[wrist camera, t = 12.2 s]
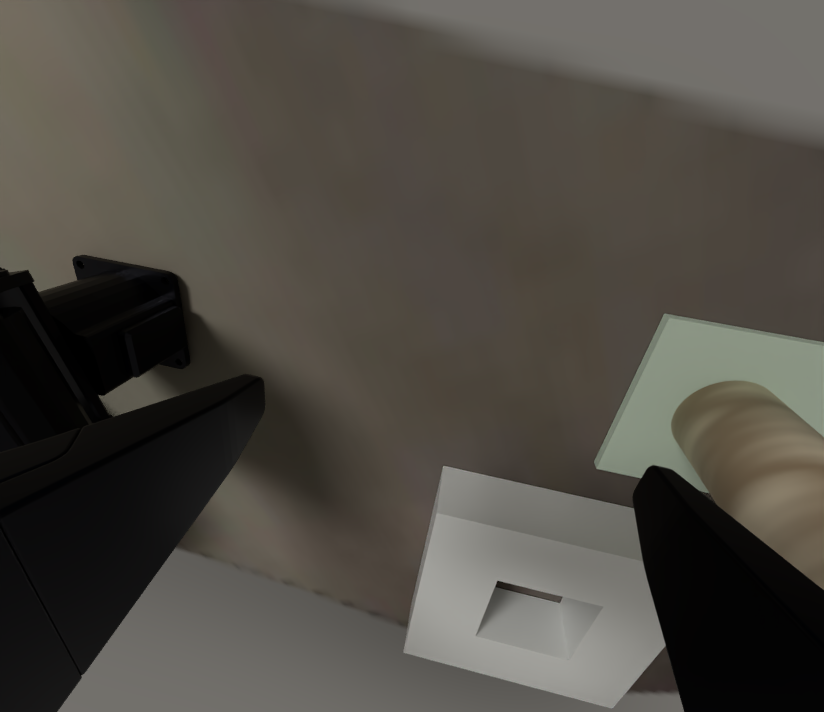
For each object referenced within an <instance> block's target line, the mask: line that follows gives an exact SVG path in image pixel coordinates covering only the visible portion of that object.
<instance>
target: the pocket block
mask: <svg viewBox="0 0 824 712" xmlns="http://www.w3.org/2000/svg"><path fill="white" fill-rule="evenodd" d="M497 581H501V582H505V583H509V584H513V585H517V586H521V587H525V588H529V589H533V590H538V591H542V592H546V593H550V594H554V595H558V596H562V597H563V598H562V600H561V602H560V603H557V602H553V601H549V600H545V599H541V598H537V597H533V596H529V595H525V594H521V593H517V592H513V591H509V590H505V589H501V588H497V587H495V585H496V583H497ZM665 646H666V645H665V641H664V638H663V634H662V631H661V627H660V624H659V620H658V616H657V613H656V609H655V606H654V602H653V599H652V595H651V592H650V588H649V584H648V581H647V577H646V573H645V569H644V565H643V560H642V554H641V548H640V542H639V536H638V530H637V524H636V518H635V512H634V508H630V507H626V506H621V505H617V504H612V503H608V502H603V501H599V500H594V499H590V498H585V497H581V496H577V495H572V494H568V493H563V492H559V491H554V490H550V489H545V488H541V487H536V486H532V485H528V484H523V483H519V482H514V481H510V480H505V479H501V478H496V477H492V476H487V475H483V474H478V473H474V472H470V471H465V470H461V469H456V468H452V467H447V466H443V469H442V474H441V478H440V482H439V486H438V491H437V495H436V499H435V504H434V508H433V512H432V517H431V521H430V525H429V530H428V534H427V538H426V543H425V547H424V551H423V555H422V560H421V564H420V568H419V573H418V577H417V581H416V586H415V590H414V594H413V599H412V603H411V609H410V615H409V621H408V627H407V633H406V639H405V645H404V651H403V653H406V654H410V655H414V656H418V657H421V658H425V659H429V660H432V661H436V662H440V663H444V664H447V665H451V666H455V667H459V668H463V669H466V670H469V671H473V672H477V673H481V674H484V675H488V676H492V677H496V678H499V679H503V680H507V681H510V682H514V683H518V684H522V685H525V686H529V687H533V688H536V689H540V690H544V691H548V692H551V693H555V694H559V695H563V696H566V697H570V698H574V699H577V700H581V701H585V702H589V703H592V704H596V705H600V706H604V707H607V708H611V709H613V707H614V706H615V705H616V704H617V703H618V702H619V700H620V699H621V698H622V697H623V696H624V694H625V693H626V692H627V691H628V690H629V688H630V687H631V686H632V685H633V684H634V683H635V681H636V680H637V679H638V678H639V677H640V675H641V674H642V673H643V672H644V671H645V669H646V668H647V667H648V666H649V665H650V664H651V662H652V661H653V660H654V659H655V658H656V656H657V655H658V654H659V653H660V652H661V650H662V649H663V648H664V647H665Z"/></svg>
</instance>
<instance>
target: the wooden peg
mask: <svg viewBox="0 0 824 712" xmlns="http://www.w3.org/2000/svg"><path fill="white" fill-rule="evenodd" d="M671 431H672V434H673V437H674V439H675V440H676V442H677V443H678V445H679V446H680V448H681V450H682V451H683V453H684V454H685V456H686V457H687V459H688V460H689V462H690V464H691V465H692V467H693V468H694V470H695V471H696V473H697V474H698V476H699V477H700V479H701V481H702V482H703V484H704V485H705V487H706V488H707V490H708V491H709V493H710V495H711V496H712V498H713V499H714V501H715V502H716V504H717V505H718V506H719V507H720V508H721V509H723V510H724V511H725V512H726V513H728V514H729V515H730V516H732V517H733V518H734V519H735V520H737V521H738V522H739V523H740V524H742V525H743V526H744V527H745V528H747V529H748V530H749V531H750V532H752V533H753V534H754V535H755V536H757V537H758V538H759V539H760V540H762V541H763V542H764V543H765V544H767V545H768V546H769V547H770V548H772V549H773V550H774V551H775V552H777V553H778V554H779V555H780V556H782V557H783V558H784V559H785V560H787V561H788V562H789V563H790V564H792V565H793V566H794V567H795V568H797V569H798V570H799V571H800V572H802V573H803V574H804V575H805V576H807V577H808V578H809V579H811V580H812V581H813V582H814V583H816V584H817V585H818V586H819V587H821V588H822V589H823V590H824V437H823V436H822V435H821V434H820V433H818V432H817V431H816V430H815V429H814V428H813V427H811V426H810V425H809V424H808V423H807V422H806V421H804V420H803V419H802V418H801V417H800V416H799V415H797V414H796V413H795V412H794V411H793V410H792V409H790V408H789V407H788V406H787V405H786V404H785V403H784V402H782V401H781V400H780V399H779V398H778V397H777V396H775V395H774V394H773V393H772V392H771V391H769V390H768V389H767V388H765V387H763V386H761V385H759V384H756V383H753V382H748V381H736V380H735V381H724V382H719V383H715V384H712V385H709V386H706V387H704V388H701V389H699V390H698V391H696V392H694V393H692V394H691V395H690V396H688V397H687V398H686V399H685V400H684V401H683V402H682V403H681V404H680V405H679V406H678V408H677V409H676V411H675V413H674V415H673V418H672V422H671Z"/></svg>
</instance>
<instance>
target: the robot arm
mask: <svg viewBox="0 0 824 712" xmlns="http://www.w3.org/2000/svg"><path fill="white" fill-rule="evenodd" d="M83 264H84V265H83ZM73 266H74V269H75V273H76V277H77V281H74V282H70V283H67V284H64V285H61V286H57V287H54V288H51V289H47V290H44V291H41V292H38V291H37V289H36V288H35V286H34V284H33V282H34V280H33V278H32V276H31V274H30V273H29V271H28V270H24V271H17V272H10V273H9V272H8V270H5V268H4V269H2V268H0V712H57V711H58V710H59V709H60V707H61V706H62V705H63V703H64V701H65V700H66V699H67V698H68V696H69V695H70V693H71V692H72V691H73V689H74V688H75V686H76V685H77V684H78V682H79V681H80V679H81V678H82V677H81V675H83V674H84V673H85V672H86V671H87V669H88V668H89V667H90V665H91V664H92V662H93V661H94V660H95V658H96V657H97V655H98V654H99V653H100V651H101V650H102V648H103V647H104V646H105V644H106V643H107V642H108V640H109V639H110V637H111V636H112V635H113V633H114V632H115V630H116V629H117V628H118V626H119V625H120V623H121V622H122V621H123V619H124V618H125V616H126V615H127V614H128V612H129V611H130V610H131V608H132V607H133V605H134V604H135V603H136V601H137V600H138V599H139V597H140V596H141V594H142V593H143V592H144V590H145V589H146V587H147V586H148V584H149V583H150V582H151V581H152V579H153V577H154V576H155V575H156V574H157V572H158V571H159V569H160V568H161V567H162V565H163V564H164V562H165V561H166V560H167V558H168V557H169V556H170V554H171V553H172V551H173V550H174V549H175V547H176V546H177V544H178V543H179V542H180V540H181V539H182V538H183V536H184V535H185V533H186V532H187V531H188V529H189V528H190V526H191V525H192V524H193V522H194V521H195V520H196V518H197V517H198V515H199V514H200V513H201V511H202V510H203V508H204V507H205V506H206V504H207V503H208V502H209V500H210V499H211V497H212V496H213V495H214V493H215V492H216V490H217V489H218V488H219V486H220V485H221V483H222V482H223V481H224V479H225V478H226V477H227V475H228V474H229V472H230V471H231V469H232V468H233V466H234V465H235V463H236V461H237V460H238V458H239V456H240V455H241V453H242V451H243V449H244V447H245V446H246V444H247V442H248V440H249V439H250V437H251V435H252V433H253V432H254V430H255V428H256V426H257V424H258V423H259V421H260V419H261V417H262V415H263V413H264V410H265V390H264V381H263V379H262V378H261V377H258V376H253V375H249V374H244V375H241V376H238V377H235V378H232V379H228V380H225V381H222V382H219V383H216V384H213V385H210V386H207V387H204V388H201V389H198V390H195V391H192V392H189V393H185V394H182V395H179V396H176V397H173V398H170V399H167V400H164V401H161V402H158V403H155V404H152V405H149V406H145V407H142V408H139V409H136V410H133V411H130V412H127V413H124V414H121V415H118V416H115V417H113V416H112V415H109V413H108V412H107V410H106V408H105V407H104V405H103V403H102V401H101V400H100V398H99V396H98V395H101V396H104V395H106V394H107V393H109V392H110V391H112V390H114V389H115V388H117V387H118V386H120V385H122V384H123V383H125V382H126V381H128V380H130V379H131V378H133V377H136V378H137V377H139V376H141V375H143V374H144V373H146V372H147V371H149V370H150V369H152V368H154V367H155V366H157V365H158V364H160V365H165V366H169V367H174V368H179V369H183V368H185V367H187V366H188V365H189V364H190V358H189V351H188V345H187V338H186V332H185V326H184V319H183V313H182V306H181V300H180V293H179V287H178V281H177V278H176V276H175V275H174V274H173V273H172V272H169V271H165V270H160V269H154V268H149V267H144V266H139V265H134V264H128V263H123V262H118V261H113V260H108V259H103V258H97V257H92V256H87V255H80V256H75V257H74V258H73ZM166 278H167V279H168V281H169V283H168V282H167V280H166ZM180 360H181V361H182V362H181V361H180ZM633 506H634V512H635V518H636V524H637V530H638V536H639V542H640V548H641V554H642V560H643V565H644V569H645V573H646V577H647V581H648V584H649V588H650V592H651V595H652V599H653V602H654V606H655V609H656V613H657V616H658V620H659V624H660V627H661V631H662V634H663V638H664V641H665V645H666V648H667V652H668V656H669V659H670V663H671V666H672V670H673V673H674V677H675V681H676V684H677V688H678V691H679V695H680V698H681V702H682V705H683V709H684V712H824V590H823V589H822V588H821V587H819V586H818V585H817V584H816V583H814V582H813V581H812V580H811V579H809V578H808V577H807V576H805V575H804V574H803V573H802V572H800V571H799V570H798V569H797V568H795V567H794V566H793V565H792V564H790V563H789V562H788V561H787V560H785V559H784V558H783V557H782V556H780V555H779V554H778V553H777V552H775V551H774V550H773V549H772V548H770V547H769V546H768V545H767V544H765V543H764V542H763V541H762V540H760V539H759V538H758V537H757V536H755V535H754V534H753V533H752V532H750V531H749V530H748V529H747V528H745V527H744V526H743V525H742V524H740V523H739V522H738V521H737V520H735V519H734V518H733V517H732V516H730V515H729V514H728V513H726V512H725V511H724V510H723V509H721V508H720V507H719V506H718V505H716V504H715V503H714V502H713V501H711V500H710V499H709V498H708V497H706V496H705V495H704V494H703V493H701V492H700V491H699V490H698V489H696V488H695V487H694V486H693V485H691V484H690V483H689V482H688V481H686V480H685V479H684V478H683V477H681V476H680V475H679V474H678V473H676V472H675V471H674V470H672V469H670V468H666V467H661V466H657V465H651V466H649V467H648V468H647V469H646V471H645V473H644V474H643V476H642V478H641V480H640V481H639V483H638V485H637V486H636V488H635V490H634V493H633Z"/></svg>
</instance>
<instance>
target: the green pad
mask: <svg viewBox="0 0 824 712" xmlns="http://www.w3.org/2000/svg"><path fill="white" fill-rule="evenodd" d="M735 380H736V381H748V382H753V383H756V384H759V385H761V386H763V387H765V388H767V389H768V390H769V391H771V392H772V393H773V394H774V395H775V396H777V397H778V398H779V399H780V400H781V401H782V402H784V403H785V404H786V405H787V406H788V407H789V408H790V409H792V410H793V411H794V412H795V413H796V414H797V415H799V416H800V417H801V418H802V419H803V420H804V421H806V422H807V423H808V424H809V425H810V426H811V427H813V428H814V429H815V430H816V431H817V432H818V433H820V434H821V435H822V436H823V437H824V342H819V341H813V340H808V339H802V338H797V337H791V336H786V335H780V334H775V333H769V332H764V331H758V330H753V329H747V328H742V327H736V326H731V325H725V324H720V323H714V322H709V321H703V320H698V319H692V318H687V317H681V316H676V315H670V314H665V313H664V315H663V318H662V320H661V322H660V324H659V326H658V328H657V330H656V332H655V334H654V337H653V339H652V341H651V343H650V345H649V347H648V349H647V351H646V353H645V356H644V358H643V360H642V362H641V364H640V366H639V368H638V370H637V372H636V374H635V377H634V379H633V381H632V383H631V385H630V387H629V389H628V391H627V393H626V396H625V398H624V400H623V402H622V404H621V406H620V408H619V410H618V412H617V414H616V417H615V419H614V421H613V423H612V425H611V427H610V429H609V431H608V433H607V436H606V438H605V440H604V442H603V444H602V446H601V448H600V450H599V452H598V455H597V457H596V459H595V461H594V463H595V466H596V469H600V470H605V471H609V472H614V473H619V474H623V475H628V476H632V477H637V478H642V476H643V474H644V473H645V471H646V469H647V468H648V467H649V466H651V465H657V466H661V467H666V468H670V469H672V470H674V471H675V472H676V473H678V474H679V475H680V476H681V477H683V478H684V479H685V480H686V481H688V482H689V483H690V484H691V485H693V486H694V487H695V488H696V489H698V490H699V491H701V492H706V493H709V491H708V490H707V488H706V487H705V485H704V484H703V482H702V481H701V479H700V477H699V476H698V474H697V473H696V471H695V470H694V468H693V467H692V465H691V464H690V462H689V460H688V459H687V457H686V456H685V454H684V453H683V451H682V450H681V448H680V446H679V445H678V443H677V442H676V440H675V439H674V437H673V434H672V431H671V422H672V418H673V415H674V413H675V411H676V409H677V408H678V406H679V405H680V404H681V403H682V402H683V401H684V400H685V399H686V398H687V397H688V396H690V395H691V394H692V393H694V392H696V391H698V390H699V389H701V388H704V387H706V386H709V385H712V384H715V383H719V382H724V381H735Z"/></svg>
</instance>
